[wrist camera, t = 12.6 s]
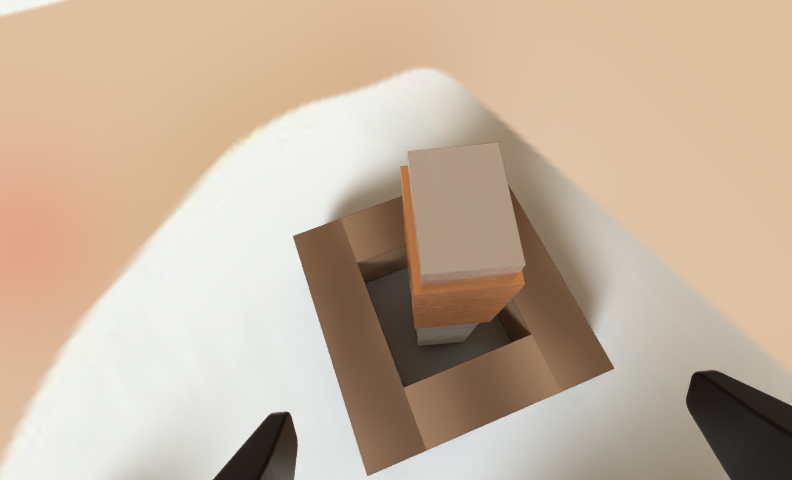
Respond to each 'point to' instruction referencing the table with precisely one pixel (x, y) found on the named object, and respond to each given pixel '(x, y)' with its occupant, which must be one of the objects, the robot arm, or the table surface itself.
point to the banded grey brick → (459, 240)
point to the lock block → (453, 388)
